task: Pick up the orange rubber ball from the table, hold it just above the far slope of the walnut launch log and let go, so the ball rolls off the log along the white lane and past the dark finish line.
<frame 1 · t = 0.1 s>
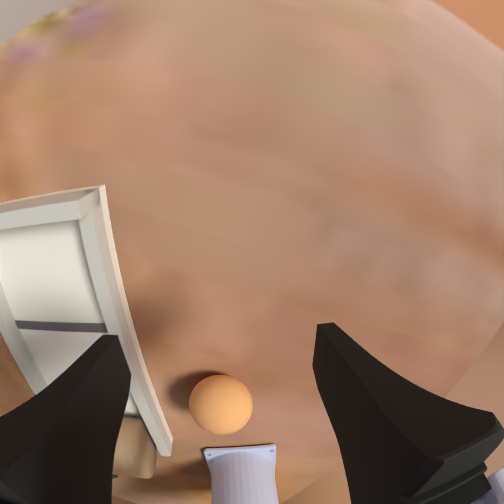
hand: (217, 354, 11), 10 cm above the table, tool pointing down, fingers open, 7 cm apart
lane: (77, 348, 22), on the table
ball: (220, 404, 22), point 2 cm above the table
launch log: (108, 413, 26), resting on lane
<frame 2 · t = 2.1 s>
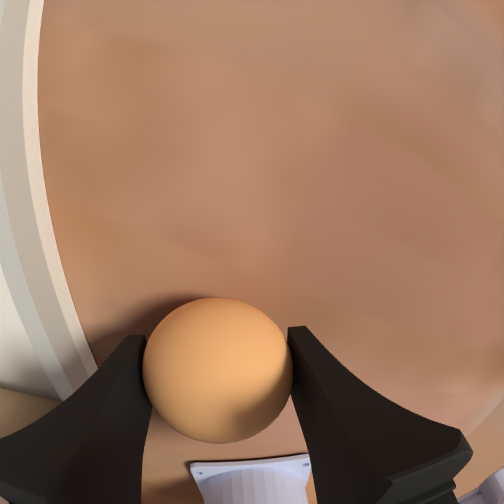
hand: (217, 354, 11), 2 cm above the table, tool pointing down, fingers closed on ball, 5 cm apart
ball: (217, 371, 10), point 2 cm above the table, touching gripper
launch log: (29, 392, 13), resting on lane
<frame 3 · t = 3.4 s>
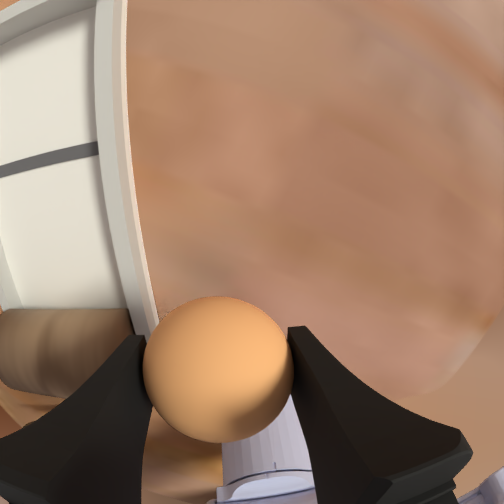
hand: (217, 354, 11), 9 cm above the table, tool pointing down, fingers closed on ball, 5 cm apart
lane: (53, 203, 17), on the table
ball: (218, 370, 10), point 10 cm above the table, touching gripper
launch log: (85, 320, 20), resting on lane
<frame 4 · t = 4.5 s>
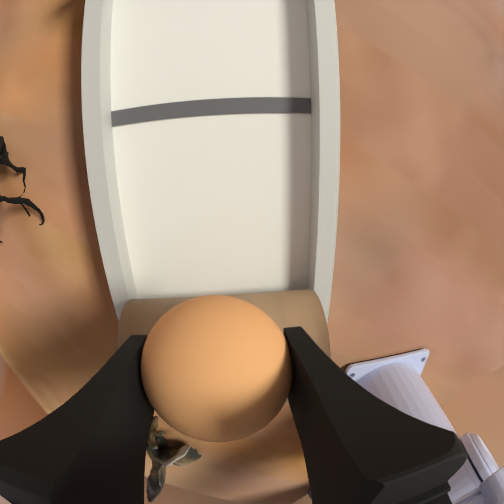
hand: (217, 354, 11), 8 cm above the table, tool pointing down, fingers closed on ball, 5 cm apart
lane: (212, 164, 16), on the table
creature: (8, 187, 15), on the table
ball: (216, 369, 10), point 9 cm above the table, touching gripper
withered leafy plant: (164, 437, 25), on the table
launch log: (223, 310, 19), resting on lane
when the fingers open (8 cm above the table, at t = 4.9 s): ball drops 5 cm, resting on lane.
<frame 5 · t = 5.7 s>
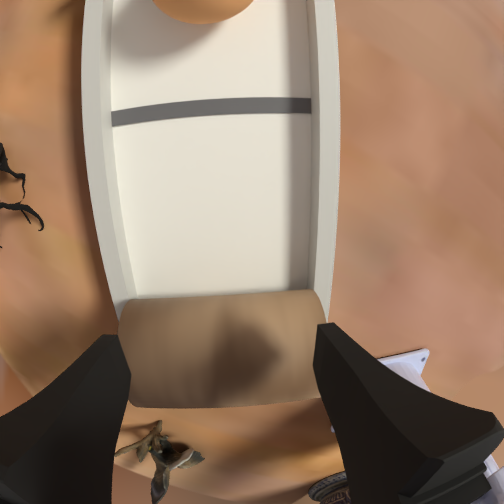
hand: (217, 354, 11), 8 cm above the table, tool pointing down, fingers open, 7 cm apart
lane: (212, 164, 16), on the table
creature: (7, 192, 15), on the table
withered leafy plant: (168, 440, 25), on the table
launch log: (223, 310, 19), resting on lane
decorative vase: (342, 482, 34), on the table
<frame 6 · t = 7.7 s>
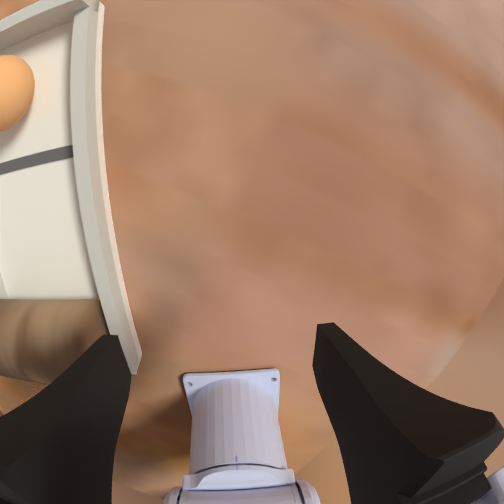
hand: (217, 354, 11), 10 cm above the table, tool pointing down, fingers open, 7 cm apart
lane: (36, 201, 18), on the table
launch log: (64, 312, 21), resting on lane
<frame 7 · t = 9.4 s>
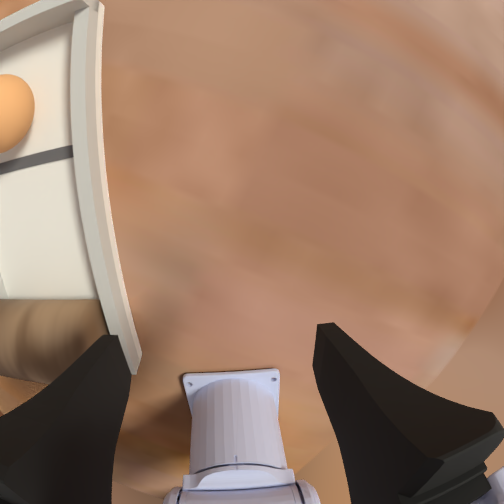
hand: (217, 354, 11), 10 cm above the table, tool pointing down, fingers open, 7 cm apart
lane: (36, 201, 18), on the table
launch log: (64, 312, 21), resting on lane
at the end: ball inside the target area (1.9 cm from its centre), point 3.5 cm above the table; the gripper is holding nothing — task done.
